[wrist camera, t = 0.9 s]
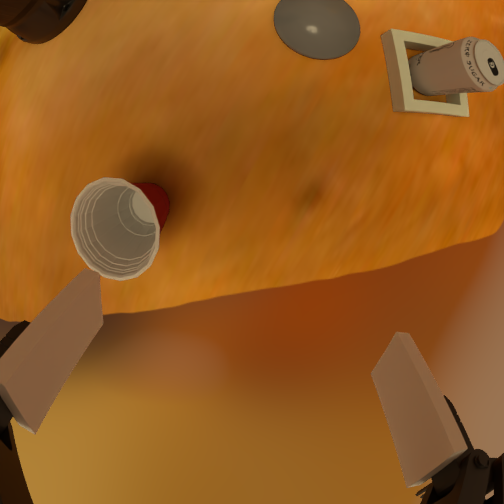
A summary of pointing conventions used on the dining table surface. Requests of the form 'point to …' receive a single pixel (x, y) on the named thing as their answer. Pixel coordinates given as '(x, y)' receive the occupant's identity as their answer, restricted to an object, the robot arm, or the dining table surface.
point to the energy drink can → (457, 68)
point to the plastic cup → (119, 226)
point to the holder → (401, 77)
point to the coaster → (317, 27)
